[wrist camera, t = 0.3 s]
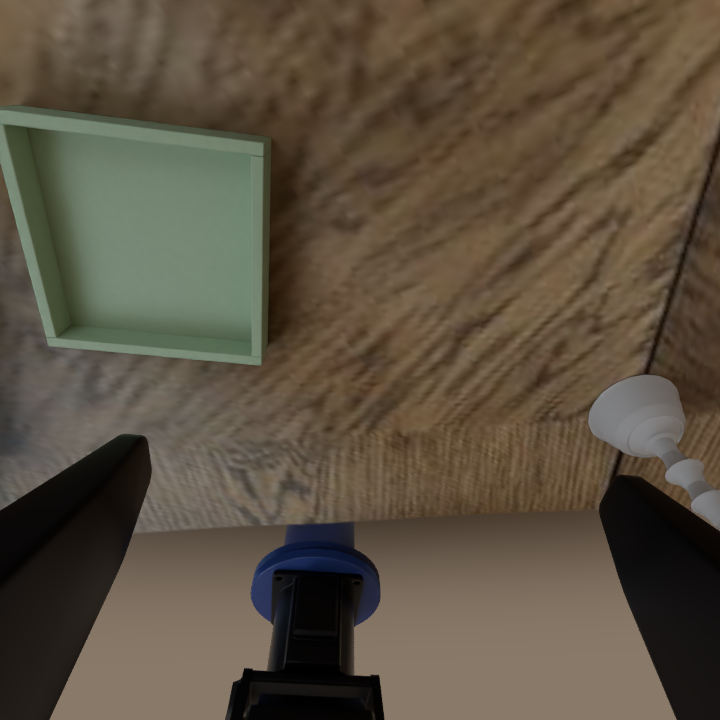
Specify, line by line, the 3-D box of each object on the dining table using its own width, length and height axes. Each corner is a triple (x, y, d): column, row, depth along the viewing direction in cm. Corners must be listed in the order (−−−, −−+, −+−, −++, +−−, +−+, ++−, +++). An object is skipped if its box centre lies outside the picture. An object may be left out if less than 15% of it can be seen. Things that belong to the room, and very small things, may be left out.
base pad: (267, 346, 24) (261, 365, 23) (68, 328, 24) (48, 346, 22) (271, 137, 19) (264, 142, 18) (17, 104, 18) (-16, 107, 17)
